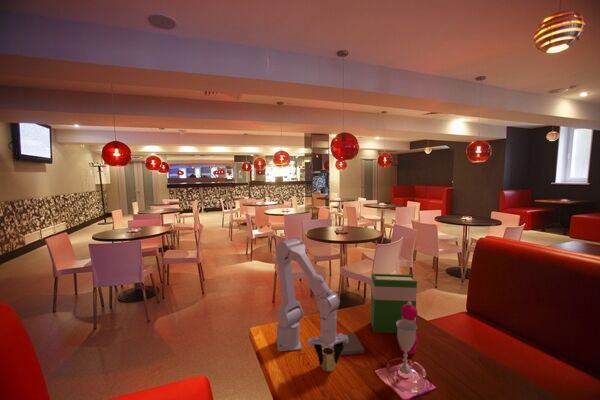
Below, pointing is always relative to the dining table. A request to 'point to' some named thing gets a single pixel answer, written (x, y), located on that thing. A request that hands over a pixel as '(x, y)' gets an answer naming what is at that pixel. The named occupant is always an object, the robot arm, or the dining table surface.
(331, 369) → the wooden collar
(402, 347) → the chalice
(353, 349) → the pin board
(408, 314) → the pepper mill
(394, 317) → the hardback book
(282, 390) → the dining table surface
